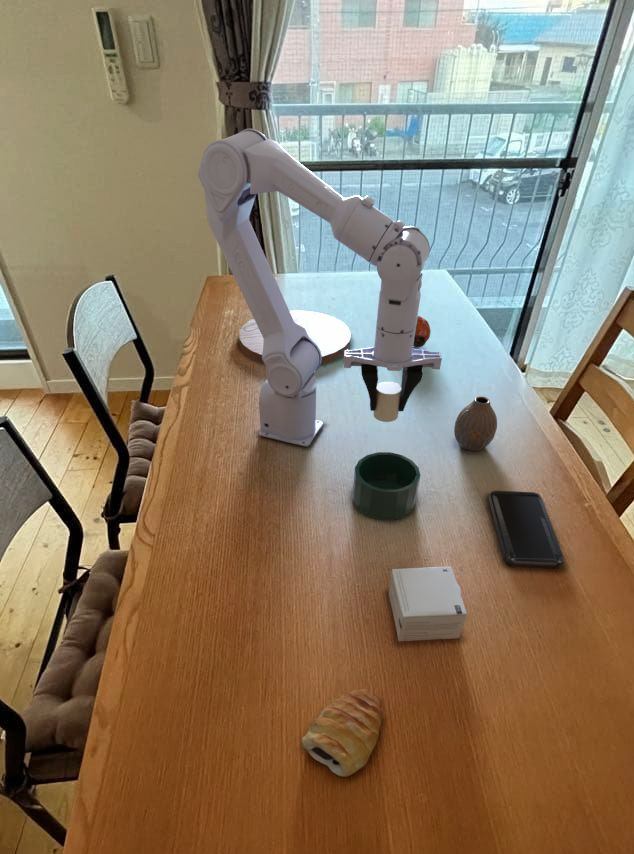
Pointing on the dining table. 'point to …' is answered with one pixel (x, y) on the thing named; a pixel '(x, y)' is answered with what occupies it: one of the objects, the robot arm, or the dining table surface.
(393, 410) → the candle
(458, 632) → the small box
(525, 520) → the phone
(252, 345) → the trivet
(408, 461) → the dark green bowl
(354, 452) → the dining table surface
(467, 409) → the vase
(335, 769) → the pastry
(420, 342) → the pomegranate
